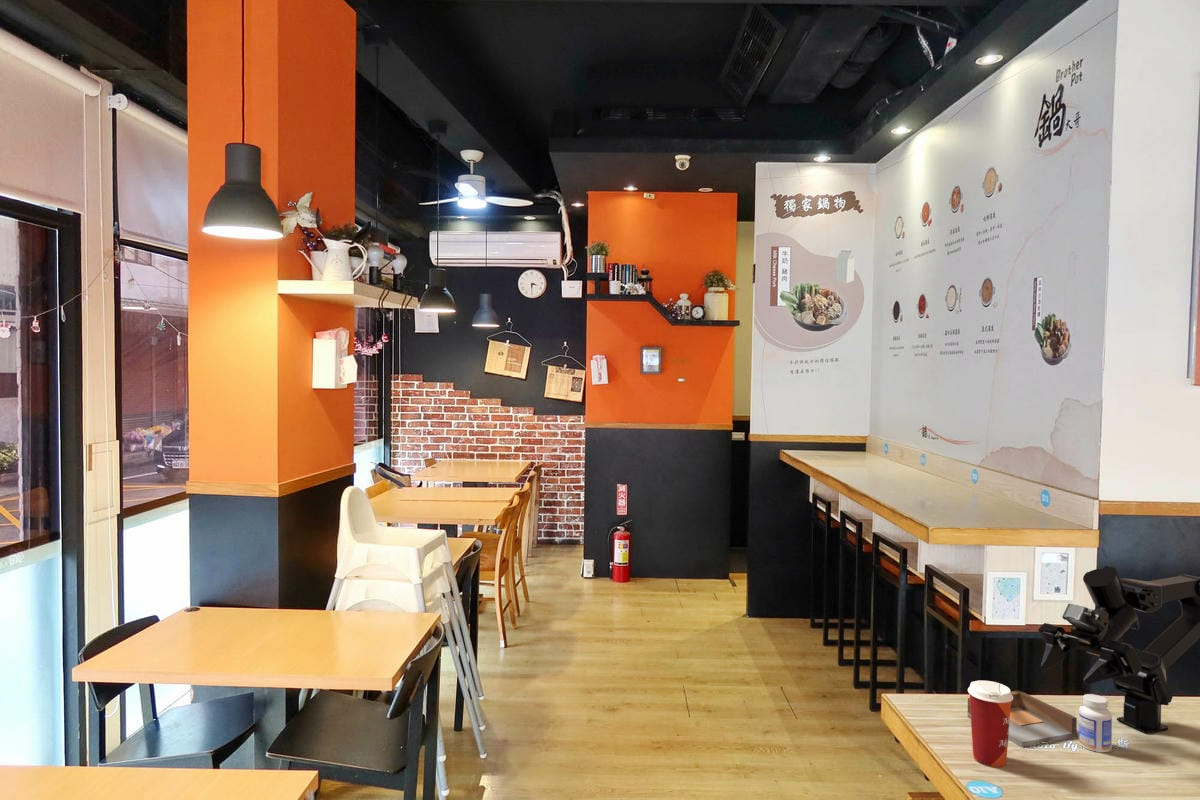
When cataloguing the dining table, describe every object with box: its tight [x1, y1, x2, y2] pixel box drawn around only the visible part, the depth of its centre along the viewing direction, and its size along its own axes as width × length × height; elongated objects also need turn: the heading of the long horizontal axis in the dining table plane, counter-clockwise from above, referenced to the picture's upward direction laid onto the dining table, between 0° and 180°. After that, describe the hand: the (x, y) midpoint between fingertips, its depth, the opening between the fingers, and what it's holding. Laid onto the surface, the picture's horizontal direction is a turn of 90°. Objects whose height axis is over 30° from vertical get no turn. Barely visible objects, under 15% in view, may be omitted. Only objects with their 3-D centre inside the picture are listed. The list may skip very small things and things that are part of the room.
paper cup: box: [967, 679, 1013, 768], centre depth 141 cm, size 8×8×14 cm
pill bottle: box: [1078, 693, 1113, 754], centre depth 146 cm, size 5×5×10 cm
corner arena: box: [967, 690, 1078, 748], centre depth 155 cm, size 14×14×4 cm
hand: (1062, 675), depth 147 cm, fingers open, 9 cm apart
